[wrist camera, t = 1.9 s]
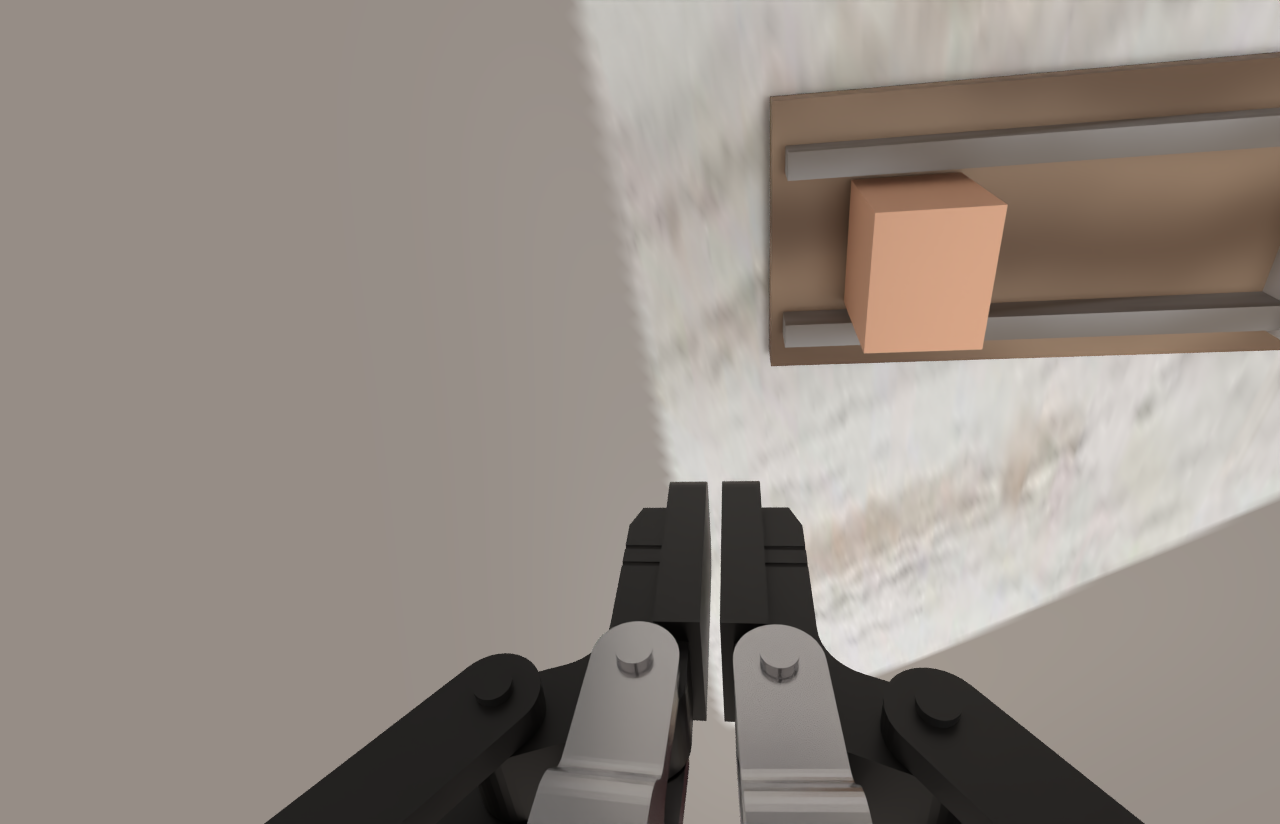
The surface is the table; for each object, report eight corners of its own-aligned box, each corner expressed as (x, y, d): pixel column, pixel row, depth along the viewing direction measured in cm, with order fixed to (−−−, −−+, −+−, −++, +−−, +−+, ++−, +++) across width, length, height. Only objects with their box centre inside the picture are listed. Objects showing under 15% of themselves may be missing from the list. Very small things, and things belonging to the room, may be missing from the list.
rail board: (770, 96, 27) (778, 115, 22) (1419, 39, 23) (1594, 47, 19) (769, 351, 32) (776, 410, 27) (1295, 333, 29) (1406, 396, 24)
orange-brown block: (851, 179, 26) (874, 213, 22) (961, 172, 26) (1007, 204, 21) (843, 302, 29) (863, 353, 24) (943, 297, 28) (982, 349, 24)
